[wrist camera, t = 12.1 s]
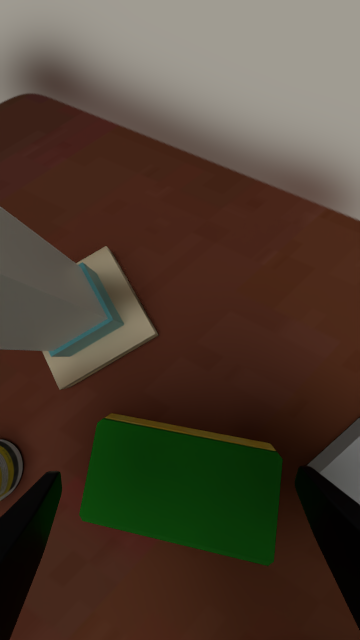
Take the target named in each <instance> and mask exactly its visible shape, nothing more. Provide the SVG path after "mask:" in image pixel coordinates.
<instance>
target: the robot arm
mask: <svg viewBox="0 0 360 640" xmlns="http://www.w3.org/2000/svg"><path fill="white" fill-rule="evenodd" d="M295 488H296V491H297V493H298V496H299V499H300V501H301V504H302V506H303V509H304V511H305V514H306V516H307V519H308V522H309V524H310V527H311V529H312V532H313V534H314V536H315V538H316V541H317V543H318V545H319V547H320V549H321V551H322V553H323V555H324V557H325V559H326V562H327V564H328V566H329V568H330V570H331V572H332V574H333V576H334V578H335V580H336V582H337V584H338V586H339V589H340V591H341V593H342V595H343V597H344V599H345V601H346V603H347V605H348V607H349V609H350V611H351V613H352V615H353V618H354V620H355V622H356V624H357V626H358V628H359V630H360V504H358V503H357V502H356V501H355V500H353V499H352V498H351V497H349V496H348V495H347V494H346V493H344V492H343V491H342V490H340V489H339V488H338V487H337V486H335V485H334V484H333V483H331V482H330V481H329V480H328V479H326V478H325V477H324V476H322V475H321V474H320V473H319V472H317V471H316V470H315V469H313V468H312V467H310V466H300V467H299V468H298V472H297V475H296V479H295ZM61 493H62V484H61V474H60V472H59V471H49V472H47V473H45V474H44V475H43V476H42V477H41V478H40V479H39V480H38V481H37V482H36V483H35V484H34V485H33V486H32V487H31V488H30V489H29V490H28V491H27V492H26V493H25V494H24V495H23V496H22V497H21V498H20V499H19V500H18V501H17V502H16V503H15V504H14V505H13V506H12V507H11V508H10V509H9V510H8V511H7V512H6V513H5V514H4V515H2V516H1V517H0V640H10V637H11V635H12V632H13V630H14V627H15V625H16V622H17V619H18V617H19V614H20V612H21V609H22V607H23V604H24V602H25V599H26V597H27V594H28V591H29V589H30V586H31V584H32V581H33V579H34V576H35V574H36V571H37V569H38V566H39V564H40V561H41V558H42V556H43V553H44V550H45V547H46V544H47V540H48V537H49V534H50V530H51V527H52V524H53V520H54V517H55V514H56V510H57V507H58V504H59V500H60V497H61Z"/></svg>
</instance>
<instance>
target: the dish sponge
mask: <svg viewBox="0 0 360 640" xmlns="http://www.w3.org/2000/svg"><path fill="white" fill-rule="evenodd" d="M282 461H283V459H282V458H281V457H280V455H279V454H278V453H277V451H276V450H275V449H274V448H273V446H272V445H271V444H270V443H265V442H260V441H255V440H250V439H244V438H239V437H234V436H229V435H223V434H218V433H213V432H208V431H203V430H197V429H192V428H187V427H182V426H176V425H171V424H166V423H161V422H155V421H150V420H145V419H140V418H135V417H129V416H124V415H119V414H114V413H111V414H109V415H108V416H106V417H105V418H103V419H102V420H101V421H99V422H98V423H97V427H96V432H95V437H94V442H93V447H92V452H91V458H90V463H89V468H88V473H87V478H86V483H85V488H84V493H83V498H82V503H81V508H80V513H79V515H80V517H81V519H82V521H85V522H90V523H94V524H98V525H102V526H106V527H110V528H114V529H118V530H122V531H127V532H131V533H135V534H139V535H143V536H147V537H151V538H155V539H159V540H164V541H168V542H172V543H176V544H180V545H184V546H188V547H192V548H196V549H201V550H205V551H209V552H213V553H217V554H221V555H225V556H229V557H233V558H238V559H242V560H246V561H250V562H254V563H258V564H262V565H266V566H269V565H270V564H271V563H272V562H274V553H275V541H276V530H277V518H278V507H279V495H280V484H281V473H282Z"/></svg>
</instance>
